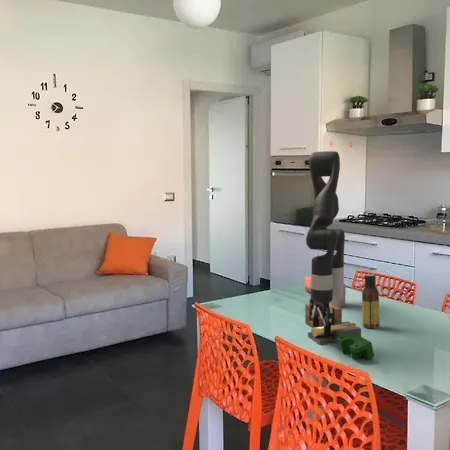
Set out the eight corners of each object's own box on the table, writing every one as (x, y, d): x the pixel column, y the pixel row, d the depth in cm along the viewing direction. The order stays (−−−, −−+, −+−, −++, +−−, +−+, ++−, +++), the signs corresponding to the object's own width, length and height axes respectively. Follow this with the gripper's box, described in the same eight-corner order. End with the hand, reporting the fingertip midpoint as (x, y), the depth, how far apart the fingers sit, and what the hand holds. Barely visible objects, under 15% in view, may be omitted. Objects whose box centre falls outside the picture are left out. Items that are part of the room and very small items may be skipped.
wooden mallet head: (328, 320, 203) (328, 301, 202) (341, 328, 194) (341, 308, 193) (305, 323, 200) (305, 304, 199) (317, 331, 191) (317, 311, 190)
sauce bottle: (380, 325, 197) (380, 273, 194) (379, 330, 191) (380, 276, 189) (362, 323, 199) (362, 272, 197) (360, 328, 193) (361, 275, 191)
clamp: (344, 365, 170) (333, 338, 172) (359, 358, 172) (348, 332, 173) (361, 363, 159) (349, 335, 160) (377, 356, 161) (365, 328, 162)
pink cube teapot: (317, 288, 256) (317, 271, 255) (327, 294, 245) (327, 276, 244) (302, 289, 255) (302, 272, 254) (311, 295, 243) (311, 278, 242)
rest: (347, 331, 189) (348, 321, 189) (361, 339, 181) (361, 328, 180) (307, 336, 185) (307, 325, 184) (319, 345, 176) (319, 333, 176)
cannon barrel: (351, 329, 186) (352, 321, 186) (356, 333, 183) (356, 324, 183) (311, 334, 182) (311, 326, 181) (315, 338, 179) (315, 329, 178)
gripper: (341, 290, 173) (341, 337, 175) (321, 281, 187) (321, 325, 189) (321, 292, 171) (321, 340, 173) (302, 283, 185) (302, 327, 187)
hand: (321, 332), depth 181 cm, fingers open, 8 cm apart
